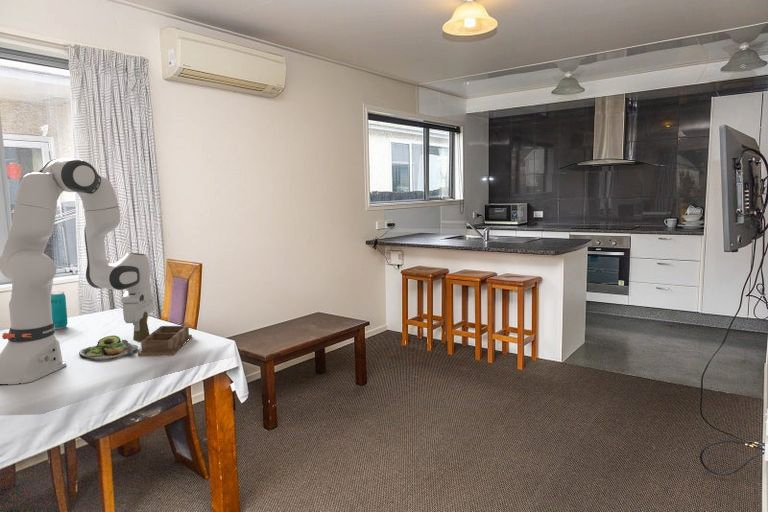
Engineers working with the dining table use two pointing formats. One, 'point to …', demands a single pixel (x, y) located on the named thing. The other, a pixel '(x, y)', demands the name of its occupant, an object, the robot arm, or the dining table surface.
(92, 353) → the salad plate
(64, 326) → the beverage can
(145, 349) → the walnut rack
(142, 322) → the cork
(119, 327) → the dining table surface
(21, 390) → the dining table surface
